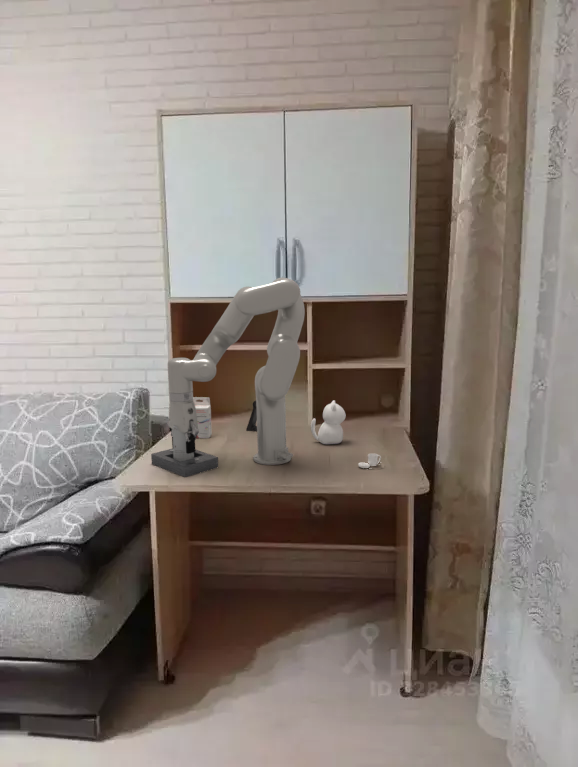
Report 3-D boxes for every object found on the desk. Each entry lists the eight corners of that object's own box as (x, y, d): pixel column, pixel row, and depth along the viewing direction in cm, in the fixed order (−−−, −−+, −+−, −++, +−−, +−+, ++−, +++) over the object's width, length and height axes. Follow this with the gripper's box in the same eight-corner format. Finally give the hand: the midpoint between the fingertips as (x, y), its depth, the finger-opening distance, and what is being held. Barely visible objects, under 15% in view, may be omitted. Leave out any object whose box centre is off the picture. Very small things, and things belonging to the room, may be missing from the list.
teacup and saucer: (358, 471, 214) (358, 458, 213) (357, 463, 222) (357, 451, 221) (386, 471, 213) (386, 458, 213) (384, 463, 221) (384, 451, 220)
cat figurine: (346, 446, 239) (346, 404, 236) (310, 446, 240) (310, 405, 237) (345, 439, 248) (345, 399, 245) (311, 439, 249) (310, 399, 246)
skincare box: (173, 463, 219) (171, 426, 217) (176, 458, 224) (174, 423, 221) (192, 463, 219) (190, 426, 216) (195, 459, 223) (193, 423, 220)
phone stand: (246, 430, 262) (245, 400, 260) (251, 426, 268) (250, 397, 265) (268, 432, 260) (267, 401, 257) (273, 428, 265) (272, 398, 263)
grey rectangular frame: (218, 467, 219) (217, 456, 218) (184, 477, 210) (184, 465, 209) (184, 455, 233) (184, 444, 232) (151, 464, 224) (151, 452, 223)
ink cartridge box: (186, 438, 253) (184, 399, 250) (190, 434, 258) (188, 396, 255) (209, 438, 253) (207, 399, 250) (212, 434, 257) (210, 396, 254)
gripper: (207, 398, 213) (209, 453, 217) (175, 391, 226) (178, 442, 229) (187, 402, 208) (189, 458, 212) (156, 394, 221) (159, 447, 224)
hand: (183, 449), depth 220 cm, fingers closed on skincare box, 7 cm apart
